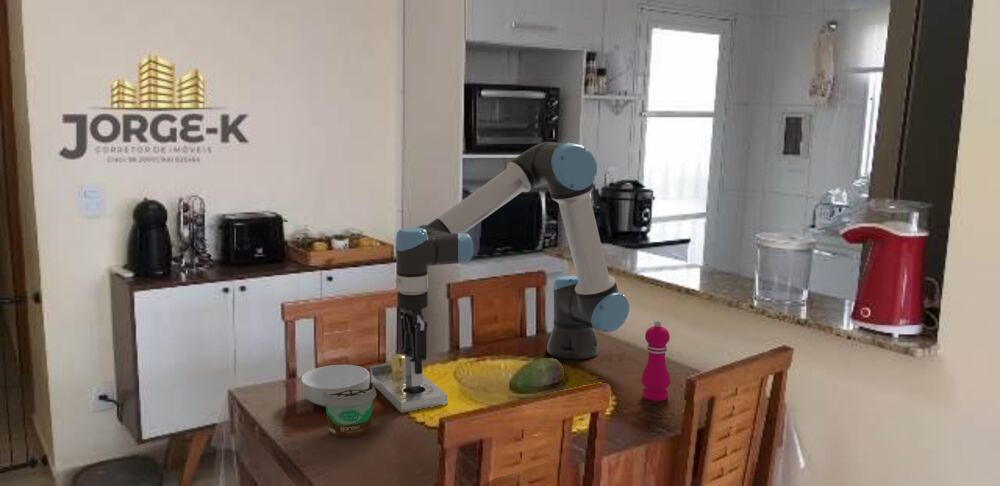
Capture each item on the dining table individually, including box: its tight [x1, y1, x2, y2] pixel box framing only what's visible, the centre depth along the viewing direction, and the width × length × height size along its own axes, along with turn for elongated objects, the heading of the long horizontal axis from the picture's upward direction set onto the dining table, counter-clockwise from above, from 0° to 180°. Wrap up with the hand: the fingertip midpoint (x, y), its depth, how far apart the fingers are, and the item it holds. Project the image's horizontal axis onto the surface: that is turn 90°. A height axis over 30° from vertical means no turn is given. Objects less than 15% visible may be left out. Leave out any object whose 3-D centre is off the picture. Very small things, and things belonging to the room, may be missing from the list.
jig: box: [369, 353, 449, 414], centre depth 204 cm, size 12×24×8 cm, turn 27°
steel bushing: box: [405, 354, 422, 394], centre depth 199 cm, size 4×4×10 cm
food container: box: [322, 384, 377, 439], centre depth 178 cm, size 12×6×10 cm, turn 114°
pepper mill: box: [640, 319, 671, 402], centre depth 200 cm, size 7×7×20 cm
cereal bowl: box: [300, 364, 371, 408], centre depth 198 cm, size 17×17×7 cm
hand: (413, 382), depth 199 cm, fingers closed on steel bushing, 4 cm apart
